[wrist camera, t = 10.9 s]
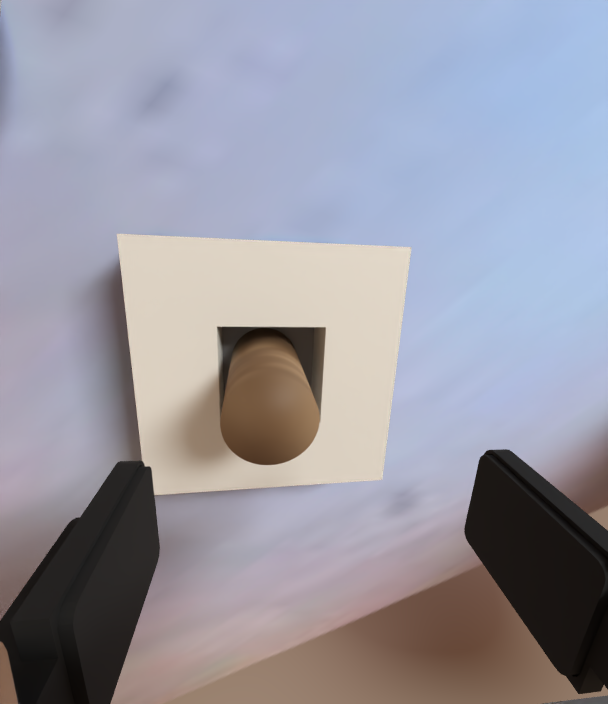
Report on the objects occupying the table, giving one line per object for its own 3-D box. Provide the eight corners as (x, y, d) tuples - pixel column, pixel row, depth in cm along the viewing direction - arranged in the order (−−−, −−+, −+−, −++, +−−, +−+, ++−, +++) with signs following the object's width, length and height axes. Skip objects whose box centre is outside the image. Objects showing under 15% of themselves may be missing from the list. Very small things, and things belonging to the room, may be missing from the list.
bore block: (382, 247, 21) (411, 247, 17) (362, 444, 25) (381, 479, 21) (143, 236, 19) (117, 233, 15) (162, 454, 23) (146, 495, 19)
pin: (296, 327, 21) (321, 374, 13) (295, 387, 22) (318, 461, 15) (229, 328, 20) (217, 378, 13) (233, 390, 22) (223, 468, 14)
